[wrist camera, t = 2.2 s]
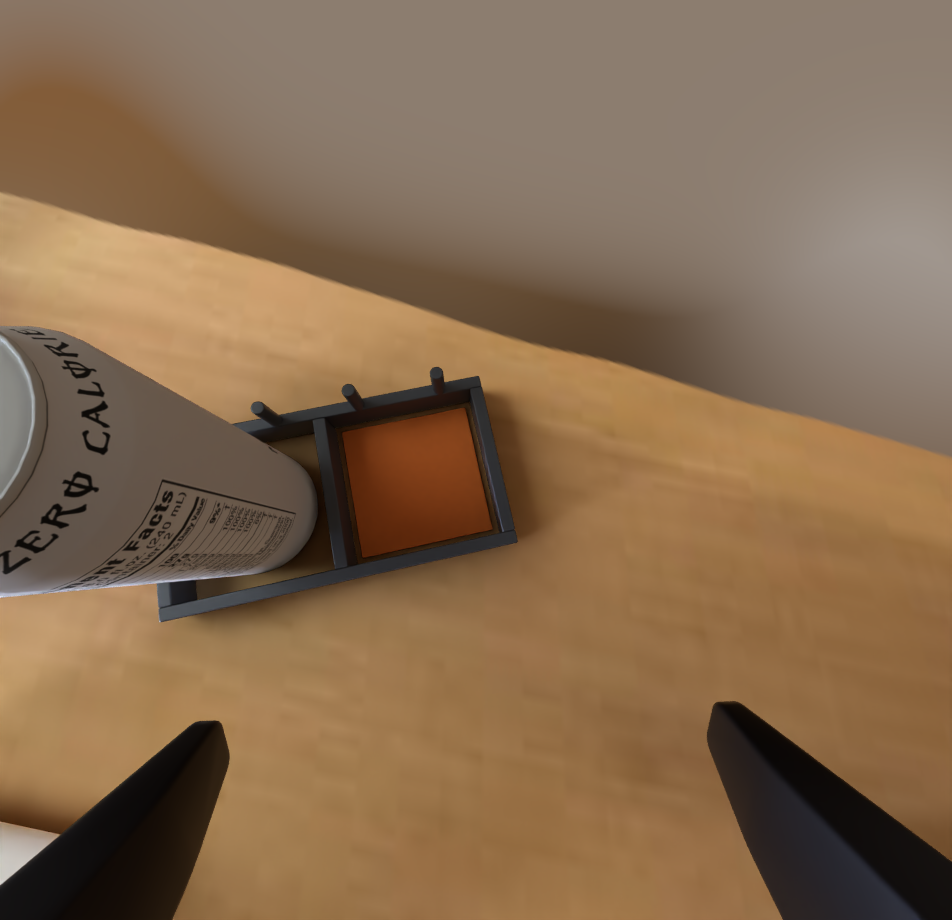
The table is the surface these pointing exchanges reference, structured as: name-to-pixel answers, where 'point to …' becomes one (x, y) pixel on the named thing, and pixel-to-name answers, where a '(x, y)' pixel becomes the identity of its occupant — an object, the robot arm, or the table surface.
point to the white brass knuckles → (20, 847)
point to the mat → (415, 482)
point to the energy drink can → (130, 478)
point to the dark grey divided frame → (323, 421)
